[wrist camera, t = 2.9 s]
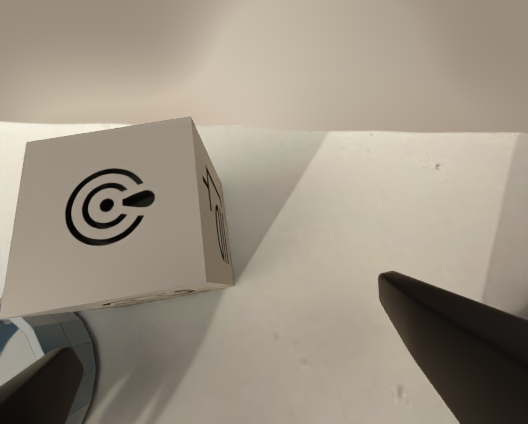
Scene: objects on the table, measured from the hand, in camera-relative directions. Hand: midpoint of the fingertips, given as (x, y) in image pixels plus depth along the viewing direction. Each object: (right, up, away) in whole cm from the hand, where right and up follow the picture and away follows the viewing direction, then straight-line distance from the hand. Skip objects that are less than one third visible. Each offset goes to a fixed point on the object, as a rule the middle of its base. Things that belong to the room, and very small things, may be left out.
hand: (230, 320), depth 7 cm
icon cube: (-7, 0, +16) cm, 18 cm away
